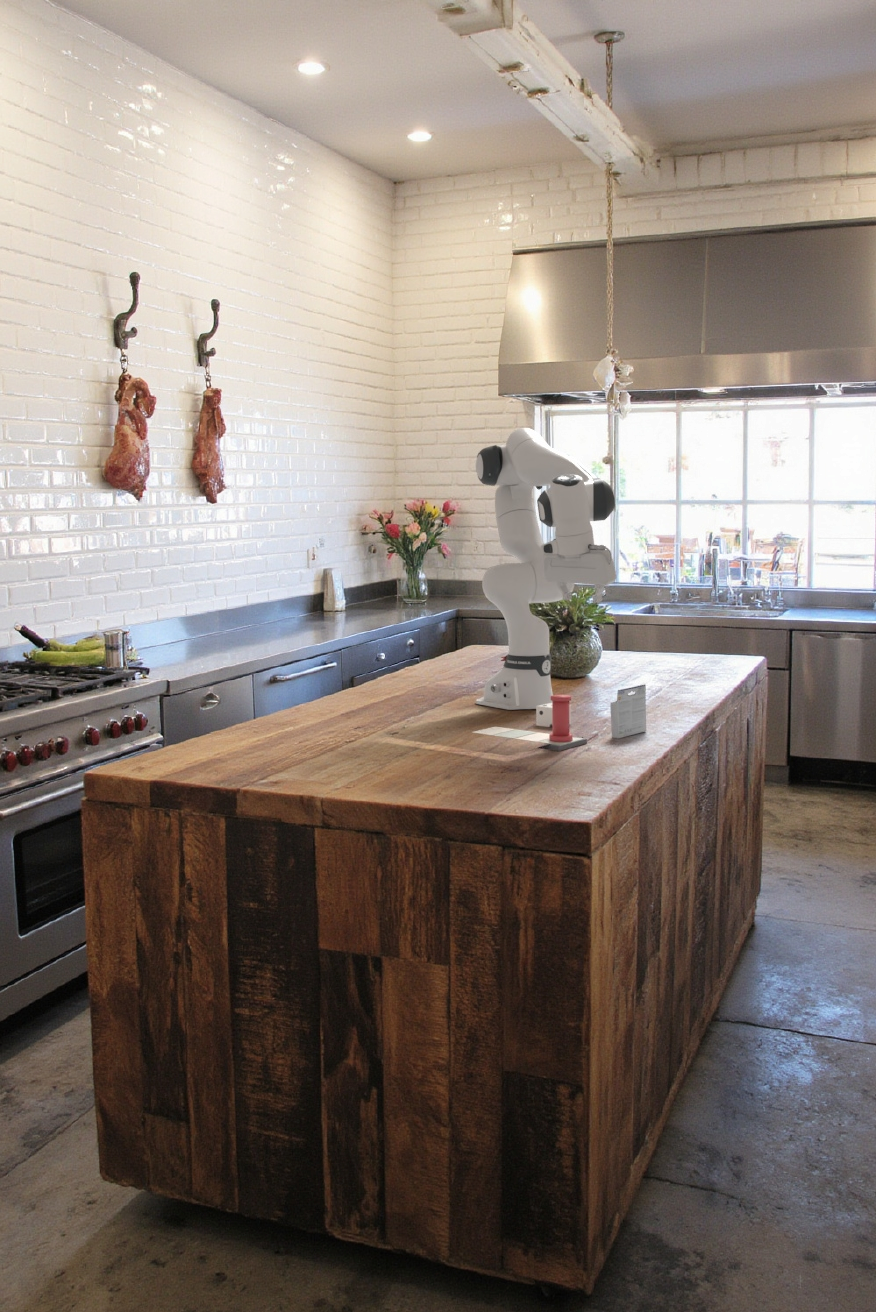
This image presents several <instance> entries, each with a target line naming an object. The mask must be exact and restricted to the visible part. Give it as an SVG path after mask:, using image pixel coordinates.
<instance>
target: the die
mask: <svg viewBox="0 0 876 1312" xmlns="http://www.w3.org/2000/svg"><path fill="white" fill-rule="evenodd" d="M535 710H536V711H535V712H536V713H535V717H536V719H535V720H536V726H539V727H546V728H552V703H548V704H543V705H539V706H536V709H535ZM570 725H572V704H569V726H570Z"/></svg>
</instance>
